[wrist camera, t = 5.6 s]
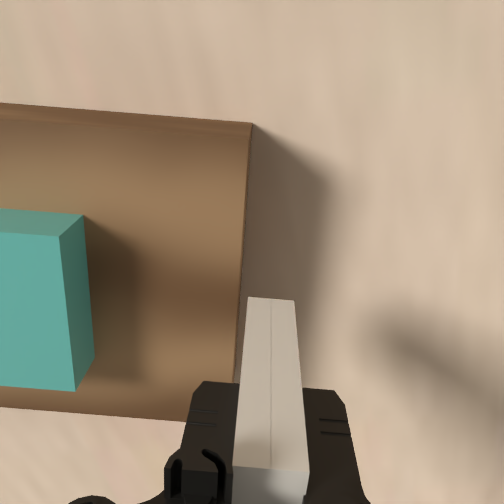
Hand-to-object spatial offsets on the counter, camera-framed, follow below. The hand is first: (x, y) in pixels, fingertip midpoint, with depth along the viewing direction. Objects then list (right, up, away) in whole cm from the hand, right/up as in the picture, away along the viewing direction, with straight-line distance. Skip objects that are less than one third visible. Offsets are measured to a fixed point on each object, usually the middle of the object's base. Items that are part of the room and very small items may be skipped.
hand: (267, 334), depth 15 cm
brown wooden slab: (-10, +3, +5) cm, 12 cm away
